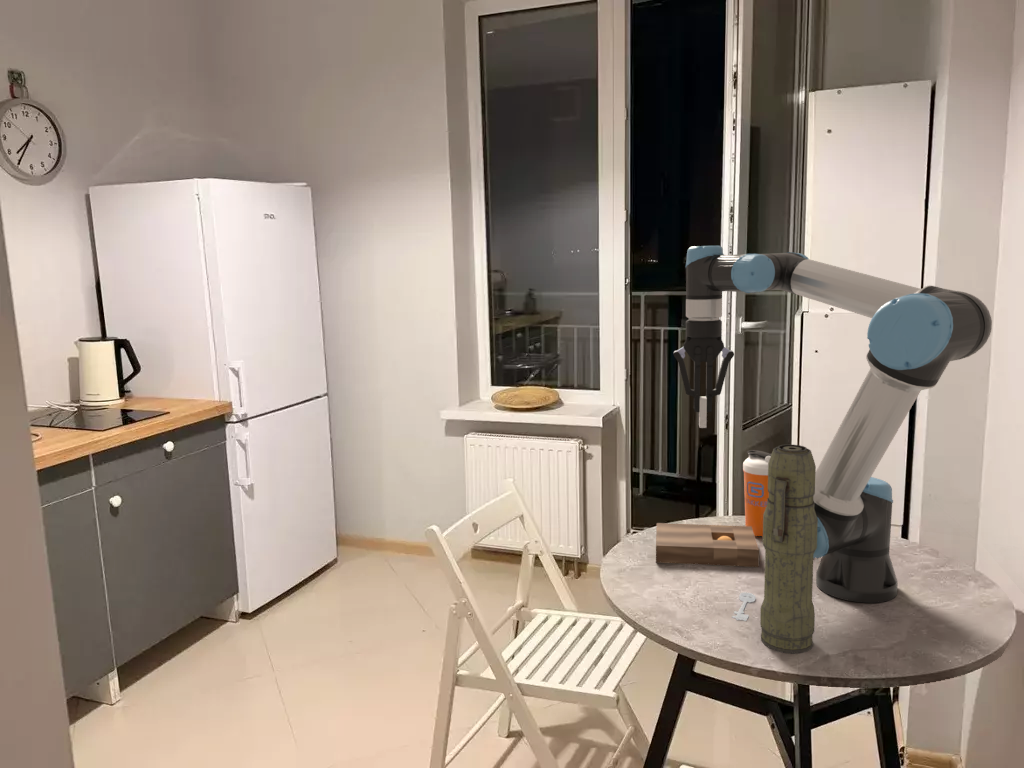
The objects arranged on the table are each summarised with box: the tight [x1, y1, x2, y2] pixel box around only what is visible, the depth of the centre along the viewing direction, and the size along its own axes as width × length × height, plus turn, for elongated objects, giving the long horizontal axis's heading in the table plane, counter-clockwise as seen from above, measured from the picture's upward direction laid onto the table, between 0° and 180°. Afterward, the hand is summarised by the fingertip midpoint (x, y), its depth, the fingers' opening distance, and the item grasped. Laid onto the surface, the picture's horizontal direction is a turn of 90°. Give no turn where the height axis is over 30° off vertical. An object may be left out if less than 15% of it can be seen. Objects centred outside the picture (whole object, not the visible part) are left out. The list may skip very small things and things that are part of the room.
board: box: [655, 522, 760, 568], centre depth 180 cm, size 15×22×4 cm
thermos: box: [759, 444, 818, 654], centre depth 135 cm, size 9×12×35 cm
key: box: [731, 591, 756, 622], centre depth 152 cm, size 12×1×3 cm
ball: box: [717, 536, 733, 541], centre depth 179 cm, size 4×4×4 cm
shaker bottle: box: [742, 449, 772, 538], centre depth 191 cm, size 9×9×20 cm
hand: (702, 426), depth 172 cm, fingers closed
